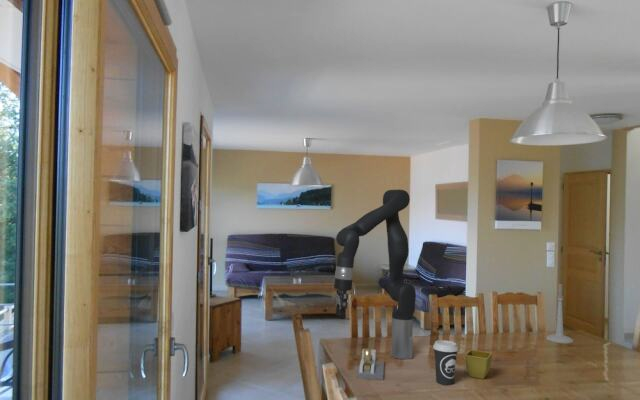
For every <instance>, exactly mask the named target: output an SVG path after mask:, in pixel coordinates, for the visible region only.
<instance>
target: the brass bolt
mask: <svg viewBox="0 0 640 400" xmlns="http://www.w3.org/2000/svg"><path fill="white" fill-rule="evenodd" d="M363 349H364V363H363V365H364V371H370V367H371V359H372V355H371V350H372V349H371V348H367V347H366V348H363Z"/></svg>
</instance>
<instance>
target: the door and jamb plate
mask: <svg viewBox="0 0 640 400" xmlns="http://www.w3.org/2000/svg"><path fill="white" fill-rule="evenodd" d="M364 349H365V348H362V351H361V357H360V361H359V366H358V369H357V374H356V378H359V379H367V380H368V379H372V380H384V372H385V359H382V358H381V359H380V358H376V357H377V355H376V354H377V353H376V352H377V350H376V349H371V367H370V371H364V365H363V363H364Z"/></svg>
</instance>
